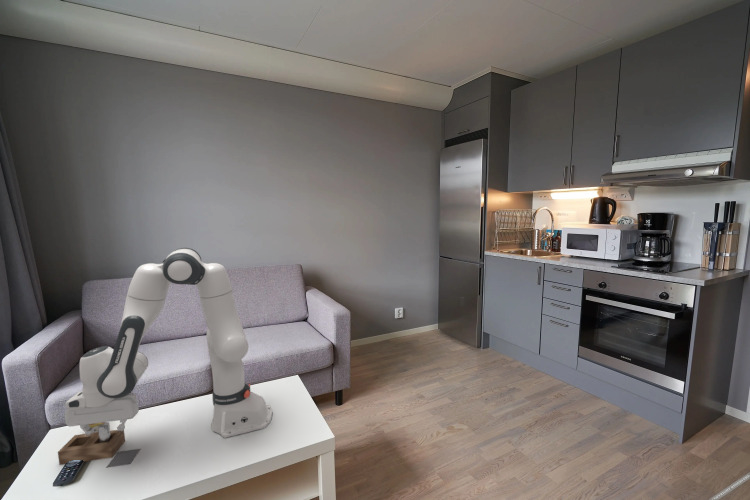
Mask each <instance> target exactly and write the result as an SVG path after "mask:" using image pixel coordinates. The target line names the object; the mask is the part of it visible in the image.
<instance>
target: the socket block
mask: <svg viewBox="0 0 750 500" xmlns="http://www.w3.org/2000/svg"><path fill="white" fill-rule="evenodd" d="M110 434H111V440H110V441H109V442H105V443H100V441H99V432H96V433H93V434H92V435H89V436H86V434H85V433H82V434H75V435H74V436H72V437H71V439H69V440H68V441H67V443H65V444H64V445H63V446H62V447H61V448H60V449H59V450H58V451H57V456H58V463H59V466H60V465H61V466H62V465H67V464H66V463H67V462H69V461H72V460H83V461H84V462H91V461H98V460H102V459H103V460H105V459H113V458H114V456H115V455H116V454H117V453H118V452H119V450H120V448H121V447H122V446H123V445H124V443H125V442H126V437H125V429H124V430H123V431H119V432H118V431H117V429H115V430H110Z"/></svg>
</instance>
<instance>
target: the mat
mask: <svg viewBox="0 0 750 500" xmlns="http://www.w3.org/2000/svg"><path fill="white" fill-rule="evenodd" d="M140 451H141V448H137V449H128V450H122V451H117V452H116V453H115V455H114V456H113V457H112V458H111V460H110V461H109V463H108V464H107V466H106V467H105V468H106V469H107V468H113V467H120V466H121V467H122V466H127V465H132V463H133V461H134V460H135V459H136V457H137V455H138V454H139V452H140Z"/></svg>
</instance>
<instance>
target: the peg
mask: <svg viewBox="0 0 750 500" xmlns="http://www.w3.org/2000/svg"><path fill="white" fill-rule="evenodd" d="M110 425H111V424H110V422H105V423H102V424H100V425H99V426H98V432H99V441H100V443H105V442H109V441H110V440H111V434H110V431H111V426H110Z"/></svg>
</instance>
